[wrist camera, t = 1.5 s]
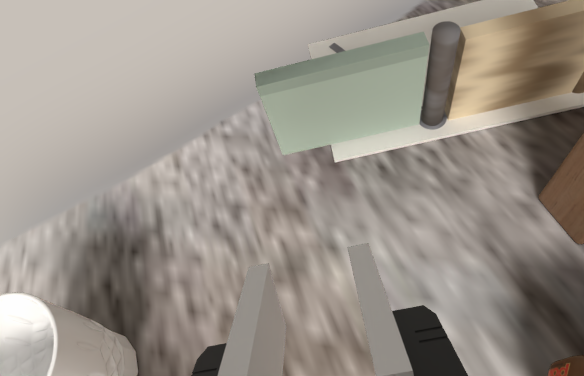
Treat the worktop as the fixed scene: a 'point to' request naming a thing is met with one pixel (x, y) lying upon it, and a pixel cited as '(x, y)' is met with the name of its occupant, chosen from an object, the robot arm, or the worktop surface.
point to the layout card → (492, 5)
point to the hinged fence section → (346, 94)
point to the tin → (568, 367)
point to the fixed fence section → (504, 61)
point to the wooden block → (568, 193)
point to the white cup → (58, 341)
